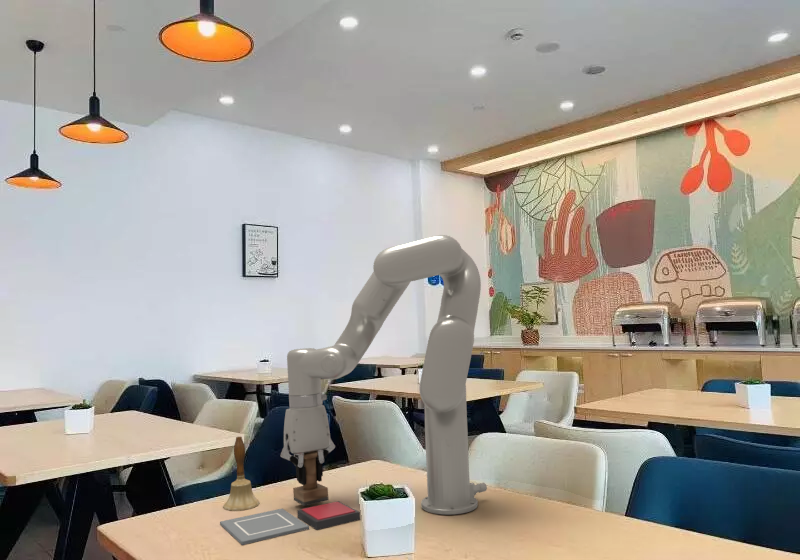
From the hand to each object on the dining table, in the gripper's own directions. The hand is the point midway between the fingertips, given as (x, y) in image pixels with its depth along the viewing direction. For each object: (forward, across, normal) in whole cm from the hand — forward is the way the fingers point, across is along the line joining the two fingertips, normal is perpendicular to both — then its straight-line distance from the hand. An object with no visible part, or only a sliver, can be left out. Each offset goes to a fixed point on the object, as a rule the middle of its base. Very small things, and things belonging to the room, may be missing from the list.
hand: (309, 481), depth 139 cm
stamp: (+4, 0, 0) cm, 4 cm away
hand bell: (+6, +13, -12) cm, 18 cm away
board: (+6, +14, +6) cm, 16 cm away
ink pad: (+6, +1, +10) cm, 12 cm away
